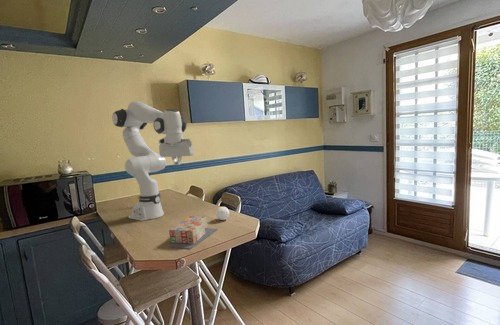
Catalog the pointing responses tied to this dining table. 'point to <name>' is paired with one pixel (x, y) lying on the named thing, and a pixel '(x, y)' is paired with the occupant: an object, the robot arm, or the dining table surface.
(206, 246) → the dining table surface
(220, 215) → the geometric ball
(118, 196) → the dining table surface
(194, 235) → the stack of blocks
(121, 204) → the dining table surface
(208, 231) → the mat
